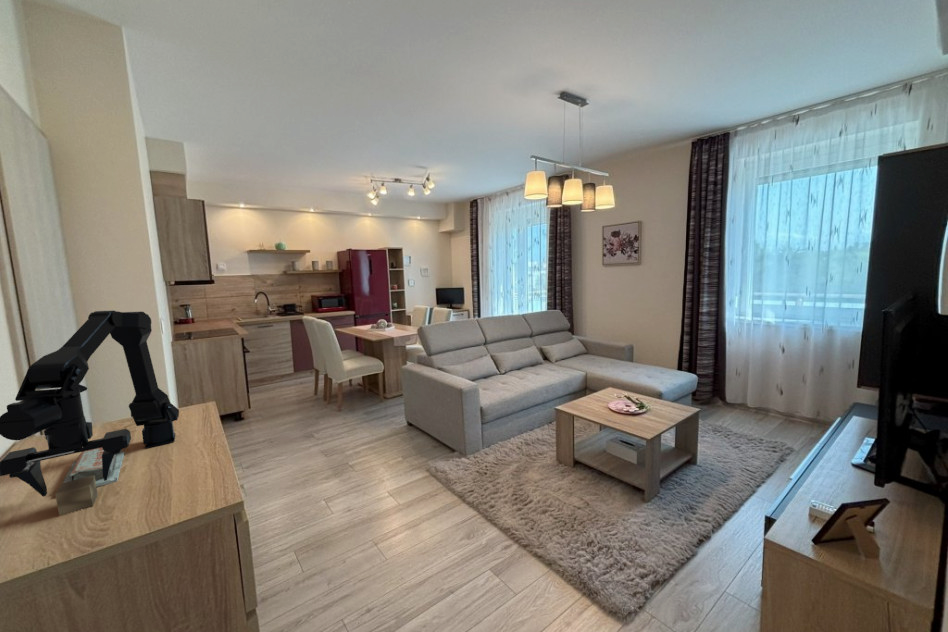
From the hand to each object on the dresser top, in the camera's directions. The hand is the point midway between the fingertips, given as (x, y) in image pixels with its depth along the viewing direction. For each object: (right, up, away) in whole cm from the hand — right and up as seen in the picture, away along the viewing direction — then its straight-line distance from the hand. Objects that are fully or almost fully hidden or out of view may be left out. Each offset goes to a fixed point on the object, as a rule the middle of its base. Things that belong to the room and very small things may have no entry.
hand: (76, 487), depth 81 cm
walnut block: (0, -4, +1) cm, 4 cm away
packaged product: (-9, -3, +13) cm, 17 cm away
